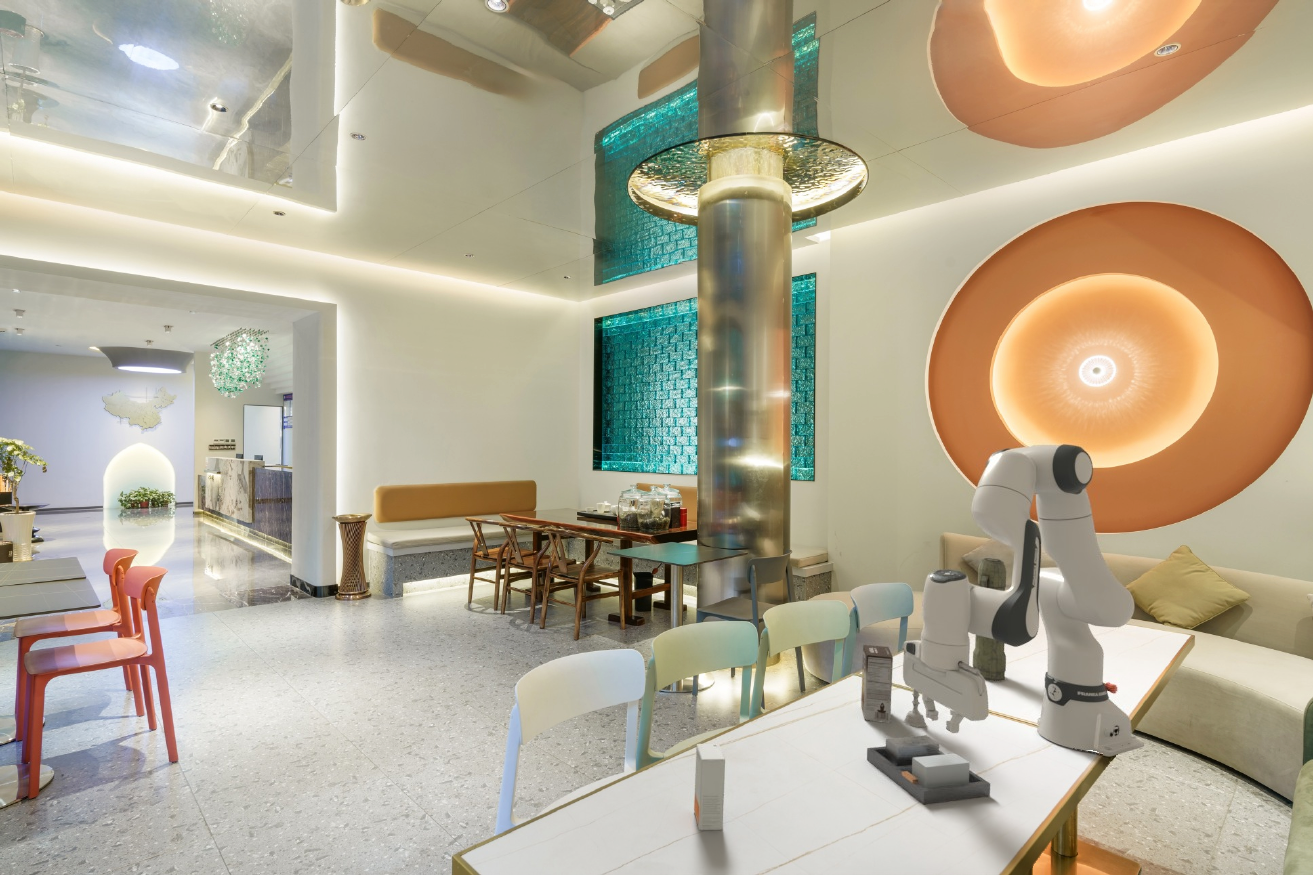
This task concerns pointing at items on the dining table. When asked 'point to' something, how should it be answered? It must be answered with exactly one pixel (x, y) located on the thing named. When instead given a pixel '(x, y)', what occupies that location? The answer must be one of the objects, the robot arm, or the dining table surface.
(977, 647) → the thermos
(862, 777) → the dining table surface
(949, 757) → the pale grey rectangular block
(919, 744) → the tray
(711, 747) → the skincare box
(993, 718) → the dining table surface
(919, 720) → the chalice
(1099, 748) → the robot arm
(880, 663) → the coffee box
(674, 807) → the dining table surface
